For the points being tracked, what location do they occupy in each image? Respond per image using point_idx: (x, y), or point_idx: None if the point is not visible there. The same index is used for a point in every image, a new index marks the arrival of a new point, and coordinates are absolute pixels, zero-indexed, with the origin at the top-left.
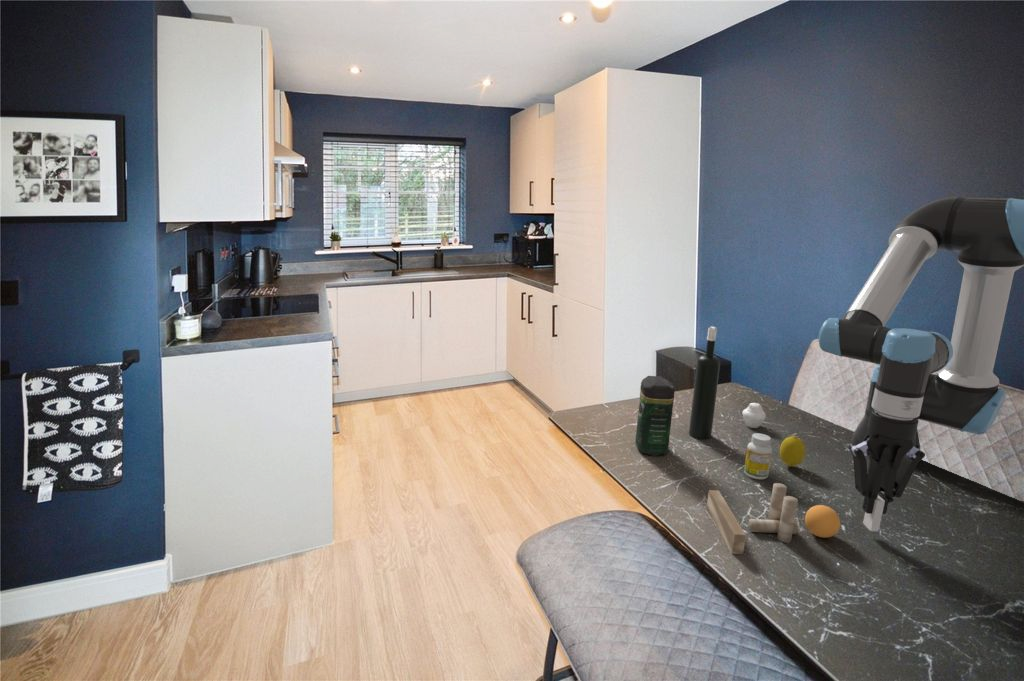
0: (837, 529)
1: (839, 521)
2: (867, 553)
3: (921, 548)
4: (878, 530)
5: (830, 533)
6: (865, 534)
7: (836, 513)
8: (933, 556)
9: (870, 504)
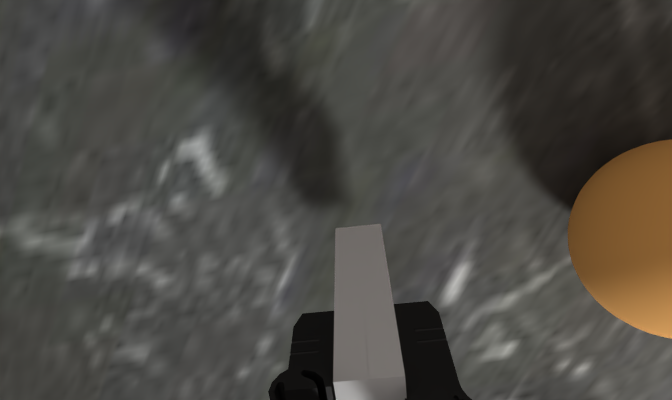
0: (629, 167)
1: (630, 212)
2: (448, 63)
3: (127, 172)
4: (336, 231)
5: (668, 140)
6: None
7: (649, 269)
8: (86, 107)
9: (429, 353)
